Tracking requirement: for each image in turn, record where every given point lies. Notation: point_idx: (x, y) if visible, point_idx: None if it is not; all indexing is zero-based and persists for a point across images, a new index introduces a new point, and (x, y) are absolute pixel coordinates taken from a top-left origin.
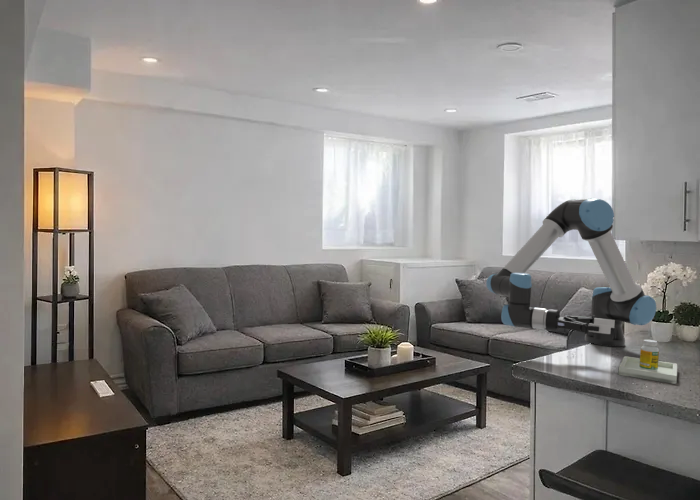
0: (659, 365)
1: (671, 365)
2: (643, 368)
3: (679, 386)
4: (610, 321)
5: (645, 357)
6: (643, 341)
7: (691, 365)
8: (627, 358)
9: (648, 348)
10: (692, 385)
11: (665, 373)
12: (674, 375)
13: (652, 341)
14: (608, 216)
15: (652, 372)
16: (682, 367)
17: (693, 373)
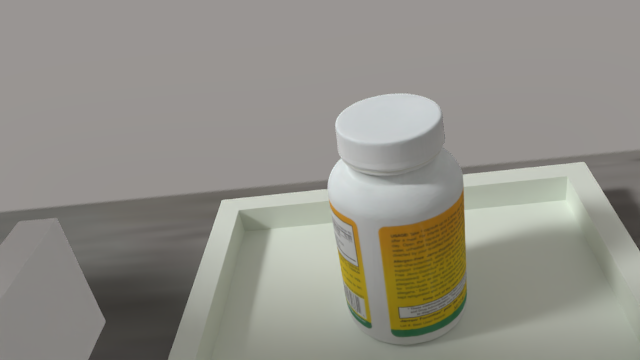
0: (231, 273)
1: (240, 223)
2: (461, 311)
3: (620, 188)
4: (40, 287)
5: (461, 237)
6: (396, 154)
7: (42, 214)
8: None
9: (454, 164)
10: (526, 165)
11: (580, 196)
12: (584, 168)
13: (409, 106)
14: None
15: (631, 239)
16: (112, 230)
17: (235, 191)
